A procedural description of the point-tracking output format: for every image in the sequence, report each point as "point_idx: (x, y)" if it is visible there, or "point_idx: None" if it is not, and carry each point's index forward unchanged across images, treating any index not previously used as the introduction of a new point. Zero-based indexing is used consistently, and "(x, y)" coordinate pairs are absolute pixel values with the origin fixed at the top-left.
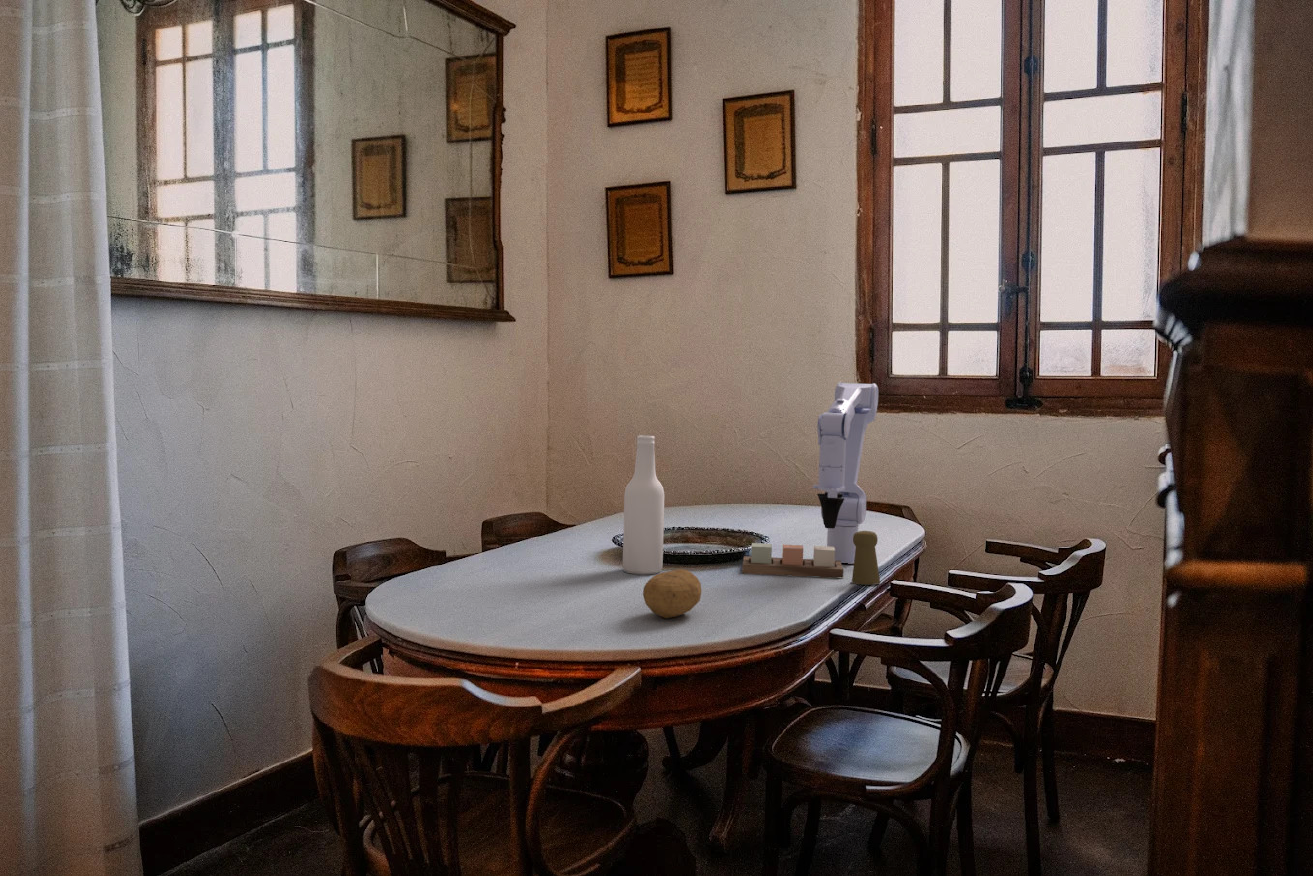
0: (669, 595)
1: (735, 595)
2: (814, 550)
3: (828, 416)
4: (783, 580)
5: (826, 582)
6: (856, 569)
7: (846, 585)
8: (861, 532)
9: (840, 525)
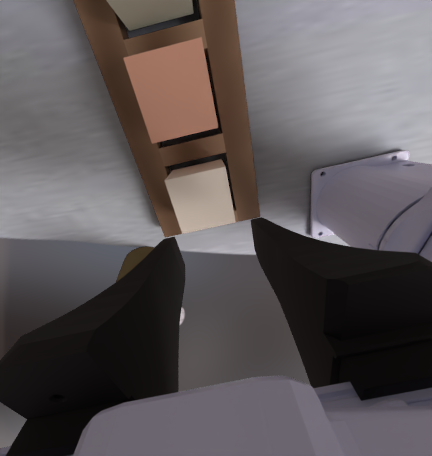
0: None
1: None
2: (178, 176)
3: None
4: (58, 107)
5: (109, 206)
6: (120, 272)
7: (109, 243)
8: None
9: (382, 240)
